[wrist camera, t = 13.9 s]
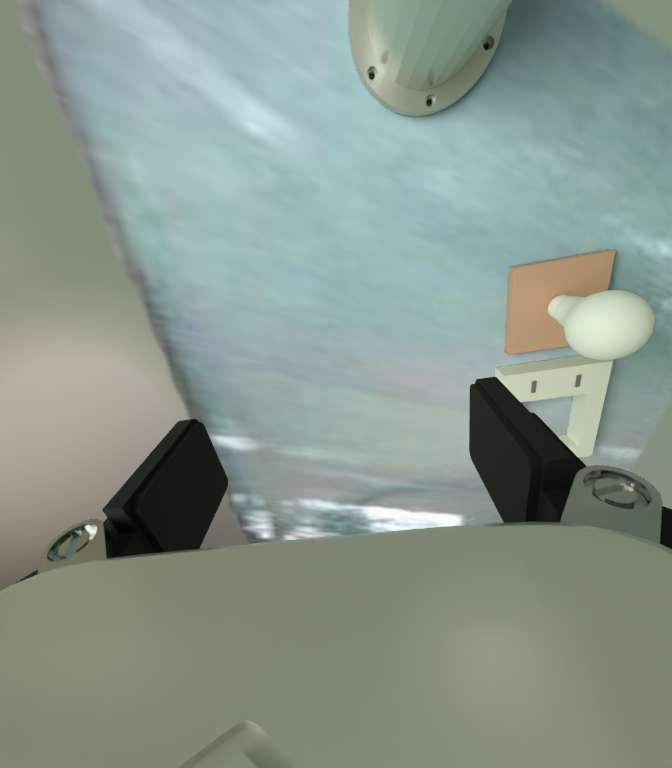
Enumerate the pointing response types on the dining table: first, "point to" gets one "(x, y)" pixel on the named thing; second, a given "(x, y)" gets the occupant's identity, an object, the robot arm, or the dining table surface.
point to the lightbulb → (604, 323)
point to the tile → (550, 297)
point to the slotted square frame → (564, 392)
